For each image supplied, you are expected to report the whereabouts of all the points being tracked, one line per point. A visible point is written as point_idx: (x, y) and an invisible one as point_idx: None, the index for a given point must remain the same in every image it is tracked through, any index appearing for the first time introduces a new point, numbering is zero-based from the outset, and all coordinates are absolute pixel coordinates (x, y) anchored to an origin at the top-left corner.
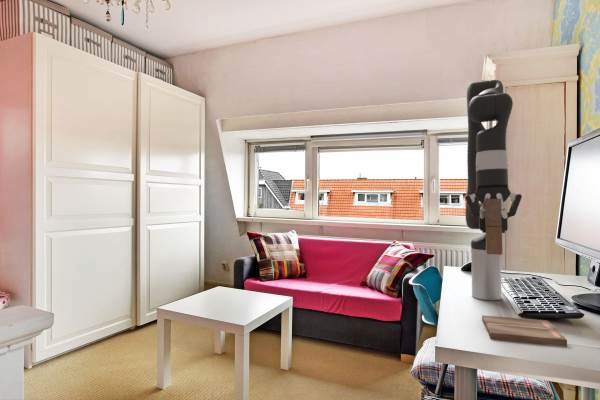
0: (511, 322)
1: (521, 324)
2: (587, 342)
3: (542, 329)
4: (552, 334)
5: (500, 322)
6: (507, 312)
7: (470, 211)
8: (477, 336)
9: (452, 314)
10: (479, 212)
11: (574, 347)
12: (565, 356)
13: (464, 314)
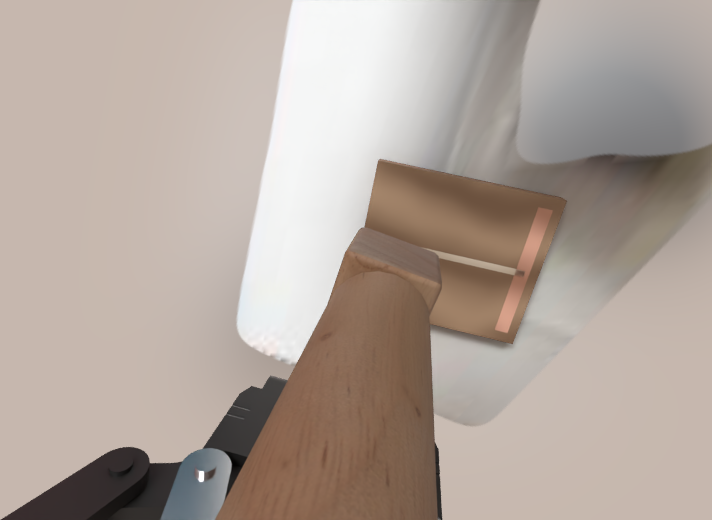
0: (440, 225)
1: (460, 241)
2: (580, 312)
3: (496, 278)
4: (499, 312)
5: (407, 227)
6: (510, 49)
7: (63, 498)
8: (325, 285)
9: (304, 99)
10: (167, 505)
11: (522, 341)
12: (467, 382)
13: (343, 94)
